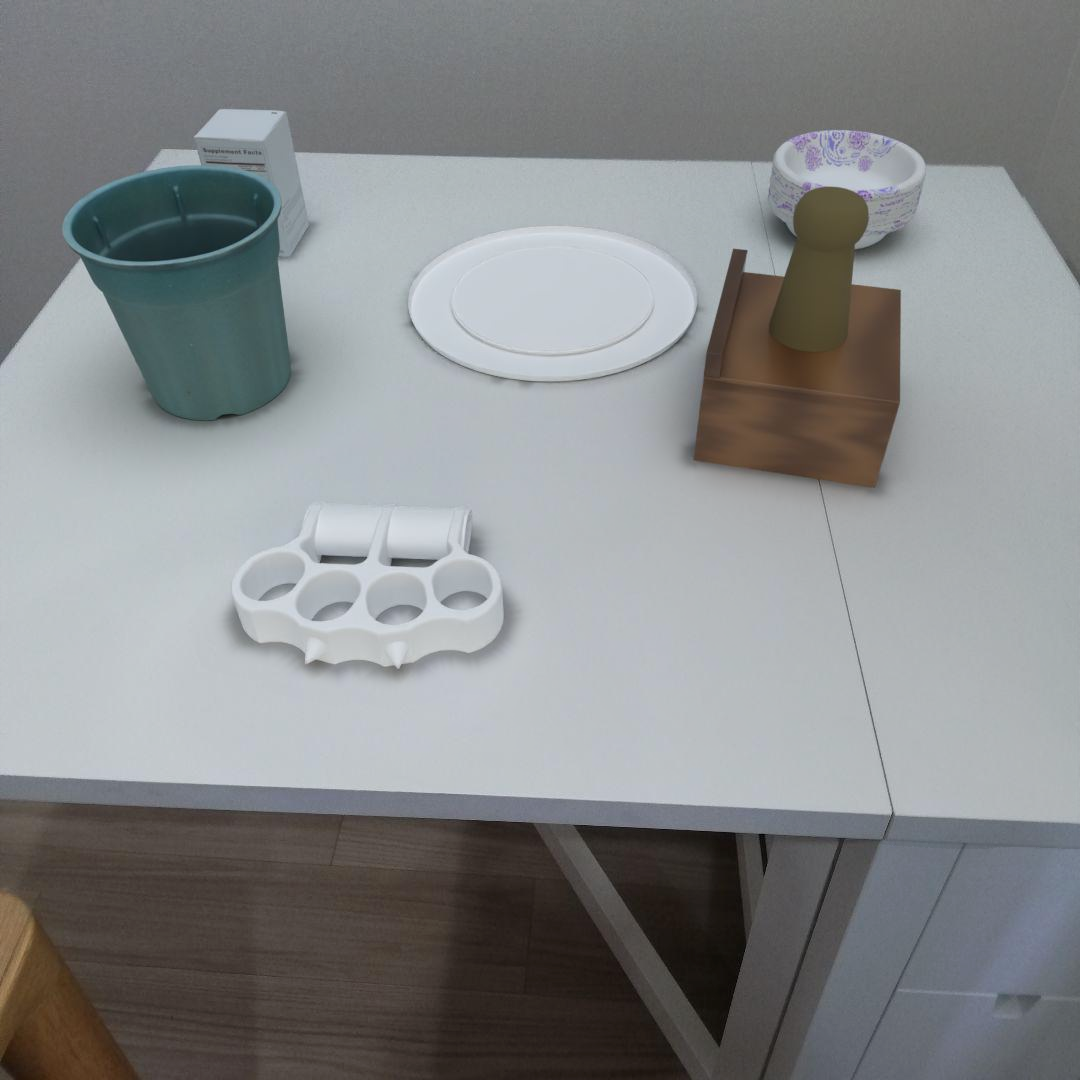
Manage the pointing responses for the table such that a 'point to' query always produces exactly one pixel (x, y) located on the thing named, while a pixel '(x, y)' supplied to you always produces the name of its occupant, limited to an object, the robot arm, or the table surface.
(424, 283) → the plate
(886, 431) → the brown wooden box
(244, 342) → the flower pot
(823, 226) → the olive pawn figure
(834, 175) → the paper bowls
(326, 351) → the table surface
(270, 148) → the white packaging box
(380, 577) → the knuckle duster
